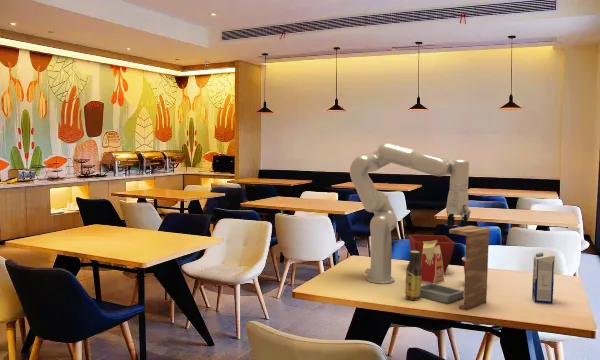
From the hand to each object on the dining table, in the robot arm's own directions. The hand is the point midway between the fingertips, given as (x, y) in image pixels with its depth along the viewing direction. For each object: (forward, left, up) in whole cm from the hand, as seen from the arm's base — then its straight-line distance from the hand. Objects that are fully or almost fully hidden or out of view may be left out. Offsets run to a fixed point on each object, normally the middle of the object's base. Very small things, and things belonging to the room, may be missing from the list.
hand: (456, 227), depth 226 cm
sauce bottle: (-4, -24, -28) cm, 38 cm away
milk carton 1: (-15, +4, -28) cm, 32 cm away
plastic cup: (+1, +15, -28) cm, 32 cm away
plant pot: (-27, +22, -28) cm, 45 cm away
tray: (+1, -14, -28) cm, 31 cm away
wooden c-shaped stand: (+14, -14, -28) cm, 34 cm away
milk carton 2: (+32, +15, -28) cm, 45 cm away
